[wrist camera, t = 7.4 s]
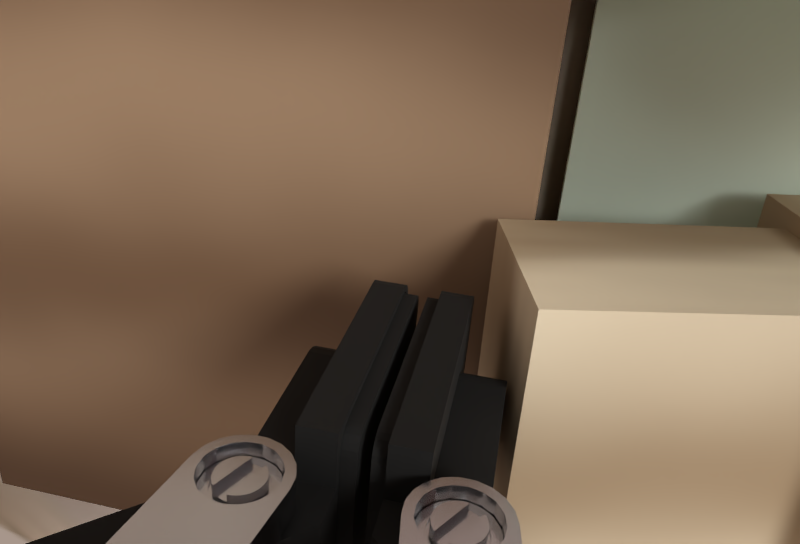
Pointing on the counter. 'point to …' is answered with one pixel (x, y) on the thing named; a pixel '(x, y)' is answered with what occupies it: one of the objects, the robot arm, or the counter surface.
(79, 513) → the counter surface
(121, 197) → the board
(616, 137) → the tray
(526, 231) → the tile
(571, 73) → the counter surface
